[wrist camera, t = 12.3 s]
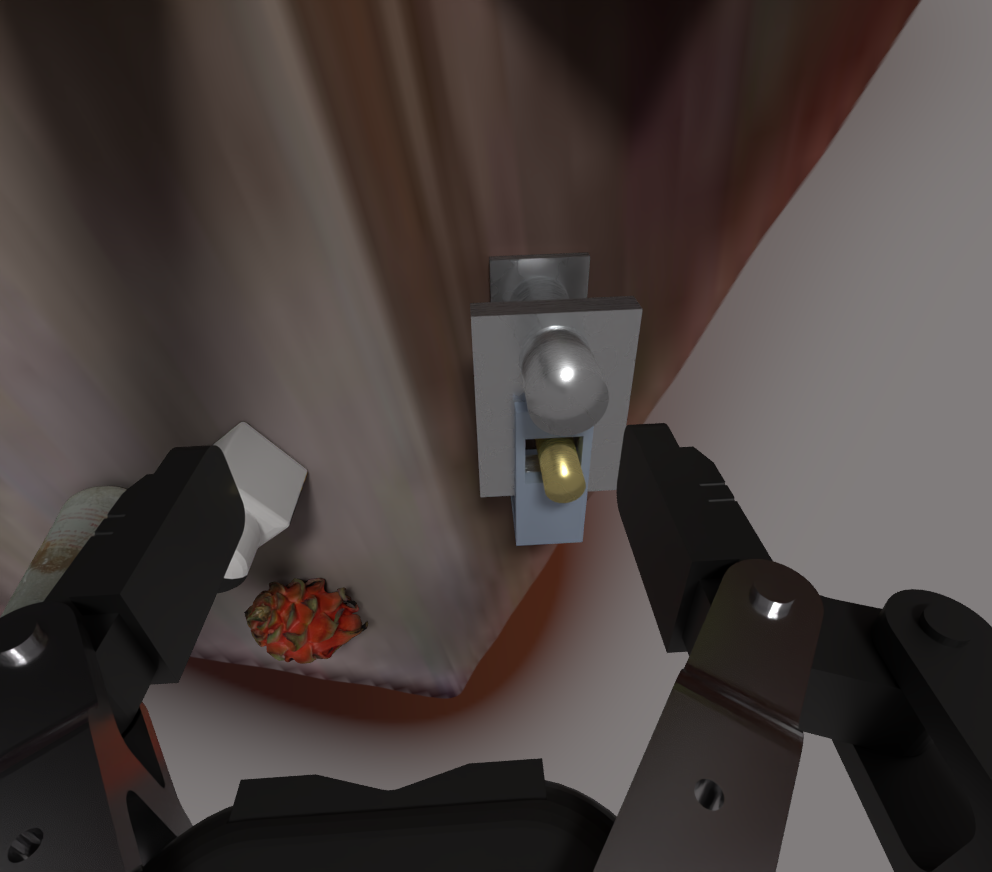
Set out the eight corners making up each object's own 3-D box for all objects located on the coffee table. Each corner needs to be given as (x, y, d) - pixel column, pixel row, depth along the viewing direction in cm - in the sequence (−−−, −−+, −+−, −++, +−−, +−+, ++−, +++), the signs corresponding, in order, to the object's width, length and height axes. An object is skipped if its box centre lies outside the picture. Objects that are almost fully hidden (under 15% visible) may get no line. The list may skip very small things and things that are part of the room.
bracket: (506, 461, 50) (516, 545, 42) (504, 340, 43) (516, 412, 34) (561, 458, 50) (582, 541, 42) (568, 337, 43) (595, 408, 35)
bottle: (170, 486, 49) (-73, 867, 27) (178, 554, 54) (-22, 924, 32) (62, 470, 48) (-296, 863, 25) (80, 542, 53) (-204, 923, 30)
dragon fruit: (253, 559, 58) (367, 571, 62) (236, 640, 57) (351, 645, 62) (251, 584, 50) (382, 595, 54) (231, 677, 50) (364, 680, 54)
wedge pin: (524, 369, 44) (545, 473, 34) (556, 368, 44) (587, 470, 34) (524, 397, 46) (544, 504, 35) (555, 396, 46) (584, 502, 35)
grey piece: (477, 426, 47) (483, 548, 36) (468, 257, 39) (472, 348, 28) (592, 420, 48) (634, 540, 36) (609, 251, 39) (670, 339, 28)
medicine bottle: (257, 507, 51) (211, 617, 42) (190, 461, 48) (122, 569, 38) (310, 469, 49) (274, 576, 39) (243, 418, 46) (185, 521, 36)
